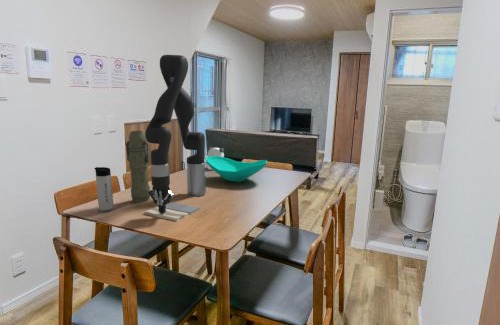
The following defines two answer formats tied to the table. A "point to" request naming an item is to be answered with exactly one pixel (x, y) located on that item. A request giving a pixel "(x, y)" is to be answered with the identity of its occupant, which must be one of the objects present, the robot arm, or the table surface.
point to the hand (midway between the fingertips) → (162, 212)
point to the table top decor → (234, 168)
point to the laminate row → (181, 207)
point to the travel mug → (104, 189)
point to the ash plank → (167, 214)
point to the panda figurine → (215, 153)
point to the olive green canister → (138, 165)
